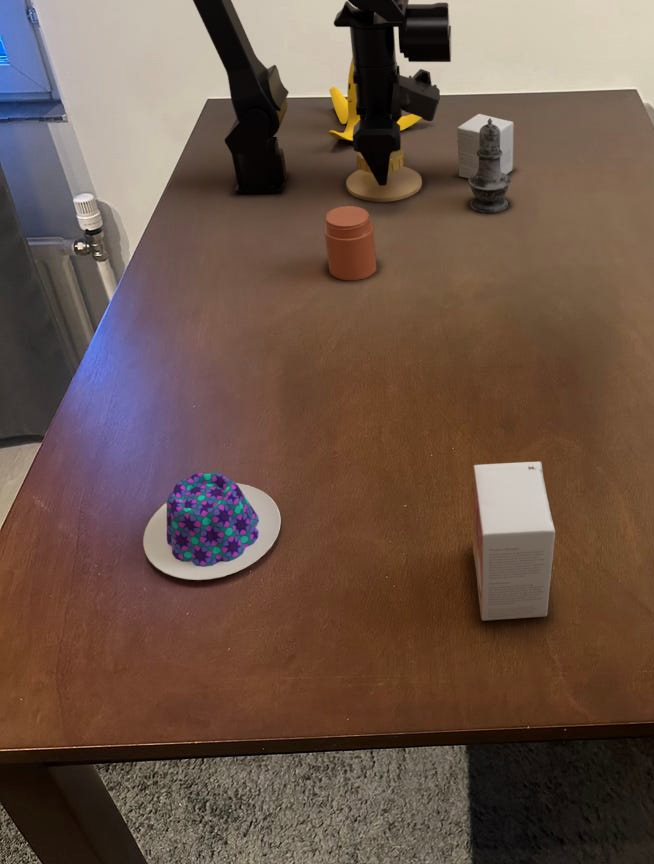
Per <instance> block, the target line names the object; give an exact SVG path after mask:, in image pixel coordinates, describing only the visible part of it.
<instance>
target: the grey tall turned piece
mask: <svg viewBox="0 0 654 864" xmlns="http://www.w3.org/2000/svg"><path fill="white" fill-rule="evenodd" d="M487 122H488V124H486V125H484V126H482V127H481V129H480V132H479V150H478V151H477V156H479V168H478V172H477V173H475V174H473V175H471V176H470V177H469V178H467V181H468V185H469V186H470V191H471V192H472V194H473V195H474V198H473V199H472V200H471V201H470V207H471V208H472V209H473V210H474V211H476V212H479V213H482V214H497V213H500V212H503V211H505V210H506V209H507V208H508V206H509V203H508V201H507V200H506V199H505V198H504V196H506V193H507V191H508V189H509V186H510V184H511V182H512V181H511V180H512V179H511V178H510V176H509V175H508V174H504V173H502V172H501V168H500V157H501V156H502V154H503V152H502V150H500V129H499V128H498V127H497V126H496V125H493V124H492V120H491V118H489V119H488V121H487Z"/></svg>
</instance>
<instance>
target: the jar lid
mask: <svg viewBox="0 0 654 864" xmlns="http://www.w3.org/2000/svg"><path fill="white" fill-rule="evenodd" d="M355 153H356V157H355V159H356V166H357V167H358V168H359V170H360V169H361V170H363V171H365V172H369V173H372V172H371V170H370V168H369V166H368V165H367V163H366V161H365V159H364V158H363V156H362V154H361V153H360V152H356V151H355ZM404 165H405V152H404V149H403V147H402V146H401V150H398V151H393V152H392V153H391V154H390V161H389V169H388V173H389V172H393V171H396V170H398V169H400V168H401V167H402V166H403V167H404Z"/></svg>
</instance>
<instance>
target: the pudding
mask: <svg viewBox="0 0 654 864" xmlns="http://www.w3.org/2000/svg"><path fill="white" fill-rule="evenodd" d="M280 512H281V511H280V509H279V507H278V505H277V503H276V502H275V501H274V500H273V498H272V497H271V496H269V495H268V494H267V493H266V492H265V491H263V490H261V489H258V488H257V487H254V486H252V485H248V484H243V483H238V482H235V481H234V480H232V479H229V478H228V476H226V475H225V474H223V473H220V472H211V473H206V472H197V473H194V474H192V475H191V476H190V477H188V478H185V479H181V480H180V481H179V482H177V483H176V484H175V485H174V486H173V491H172V492H170V493H169V495H168V498H167V500H166V502H165V503H163V505H161V507H159V509H157V510H156V511H155V512H154V514H153V515H152V516H151V518H150V519H149V521H148V523H147V525H146V527H145V530H144V534H143V537H142V538H143V543H142V545H143V549H144V553H145V556H146V557H147V559H148V561H149V562H150V563H151V564H152V565H153V566H154V567H155V568H156V569H157V570H159V571H161V572H162V573H164V574H166V575H169V576H171V577H174V578H178V579H182V580H194V581H195V580H196V581H202V580H212V579H219V578H224V577H226V576H228V575H232V574H235V573H238V572H239V571H241V570H244V569H246V568H247V567H249V566H251V565H252V564H254V563H255V562H257V561H259V559H260V558H261V557H263V556H264V555H266V553H267V552H268V551H269V550H270V549H271V548H272V546H273V545H274V543H275V541H276V540H277V538H278V536H279V533H280V529H281V522H282V518H281V513H280Z"/></svg>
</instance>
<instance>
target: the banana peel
mask: <svg viewBox="0 0 654 864" xmlns="http://www.w3.org/2000/svg"><path fill="white" fill-rule="evenodd" d="M350 61H351V62H350V66H349V71H348V72H349V73H348V78H347V91H346V92H347V98H346V97H345V95H343V94H342V92H341V91H340V89H338V88H337V87H336V86H333V87H331V88H329V94H330V97H331V101H332V104H333V107H334V110H335V113H336V116H337V117H338V120H339V122H340V124H342V125H346V127H345V129H344V131H343V132H339V131H336V130H335V129H331V130H329V131H328V134H329V135H330V136H331V137H333V138H335V139H339V140H346V141H350V142H353V129H354V126H355V125H356V124H357V122H358V121H359V120H361V119H360V115H357V114H356V103H357V99H356V88H355V84H354V83H353V71H354V67H353V56H352V57H351V60H350ZM421 119H423V118H422V117H419V116H416V115H414V114H411V113H409V114H408V115H407V114H406V115H404V116H403V115H402V116H401V118H400V119H399V120H398V121H397V123H398V124H399V125H400V132H401V131H404V130H405V129H407V128H409V127H411V126H413V125H414V124H415V123H417V122H419V121H420V120H421Z"/></svg>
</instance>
